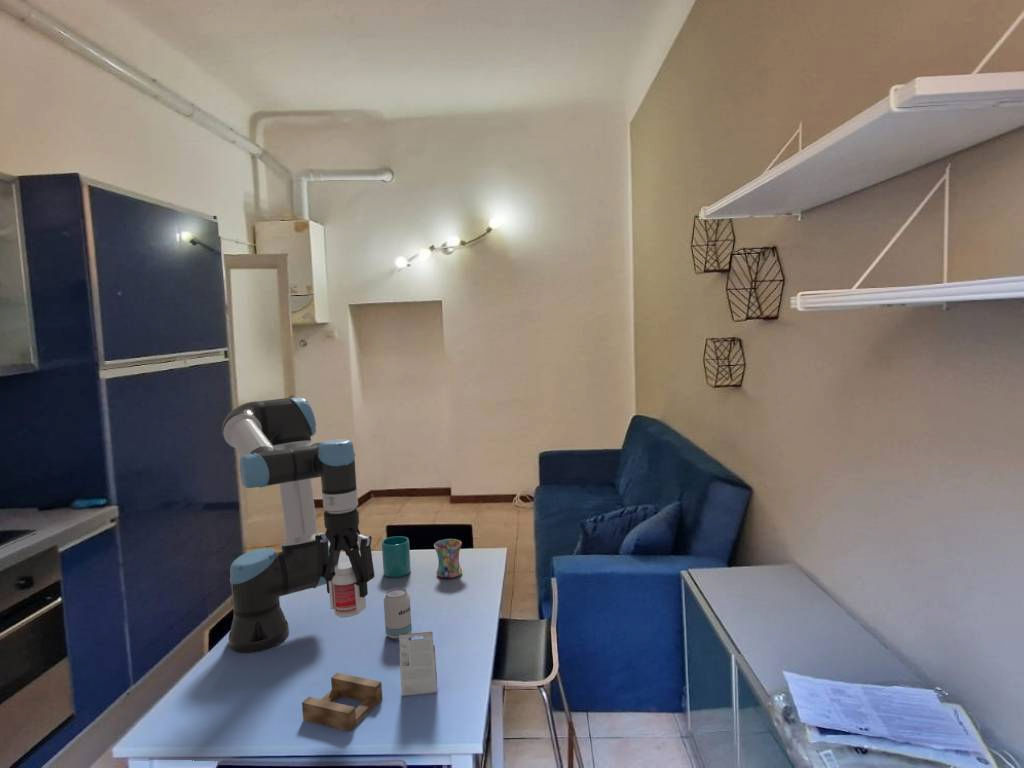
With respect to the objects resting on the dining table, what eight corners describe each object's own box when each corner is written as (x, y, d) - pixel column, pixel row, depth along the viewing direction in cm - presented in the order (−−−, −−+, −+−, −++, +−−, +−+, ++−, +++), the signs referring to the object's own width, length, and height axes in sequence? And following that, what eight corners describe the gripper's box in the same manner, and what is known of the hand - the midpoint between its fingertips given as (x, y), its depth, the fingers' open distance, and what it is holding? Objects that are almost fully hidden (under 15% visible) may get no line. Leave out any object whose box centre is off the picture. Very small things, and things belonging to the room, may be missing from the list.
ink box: (402, 687, 143) (398, 627, 142) (437, 684, 144) (434, 624, 142) (401, 697, 139) (397, 635, 138) (437, 693, 140) (433, 632, 139)
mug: (435, 570, 211) (433, 540, 210) (462, 568, 212) (461, 537, 211) (435, 584, 199) (433, 552, 198) (464, 582, 200) (462, 550, 199)
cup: (415, 564, 217) (414, 533, 216) (406, 578, 205) (404, 545, 204) (390, 564, 218) (388, 533, 217) (380, 578, 206) (378, 545, 205)
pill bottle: (366, 612, 141) (363, 565, 140) (340, 621, 137) (336, 572, 136) (356, 603, 146) (353, 557, 145) (331, 611, 142) (327, 564, 141)
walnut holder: (303, 720, 133) (301, 702, 132) (338, 688, 144) (337, 672, 143) (349, 731, 128) (348, 713, 128) (382, 698, 139) (381, 681, 139)
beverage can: (400, 643, 163) (398, 599, 162) (380, 638, 166) (377, 595, 165) (417, 631, 169) (414, 589, 168) (397, 626, 172) (394, 585, 171)
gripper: (294, 511, 139) (303, 610, 141) (368, 516, 133) (375, 620, 134) (316, 502, 146) (323, 597, 148) (386, 506, 140) (393, 605, 141)
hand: (348, 608), depth 141 cm, fingers closed on pill bottle, 6 cm apart
